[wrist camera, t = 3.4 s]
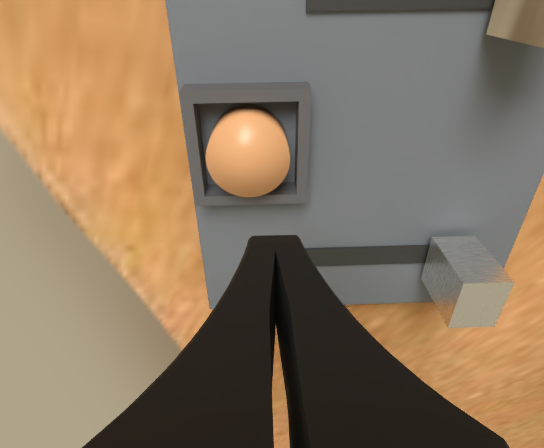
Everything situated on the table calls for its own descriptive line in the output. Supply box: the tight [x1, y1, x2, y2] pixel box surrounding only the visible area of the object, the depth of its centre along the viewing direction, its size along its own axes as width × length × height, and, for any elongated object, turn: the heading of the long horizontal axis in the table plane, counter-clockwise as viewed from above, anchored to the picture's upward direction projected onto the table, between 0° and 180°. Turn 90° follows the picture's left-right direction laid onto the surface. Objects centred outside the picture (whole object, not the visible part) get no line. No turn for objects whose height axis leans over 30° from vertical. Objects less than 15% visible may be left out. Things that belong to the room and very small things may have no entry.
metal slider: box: [421, 236, 514, 328], centre depth 20 cm, size 2×3×4 cm
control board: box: [165, 0, 544, 309], centre depth 18 cm, size 18×22×3 cm
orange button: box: [206, 105, 290, 197], centre depth 17 cm, size 4×4×2 cm
